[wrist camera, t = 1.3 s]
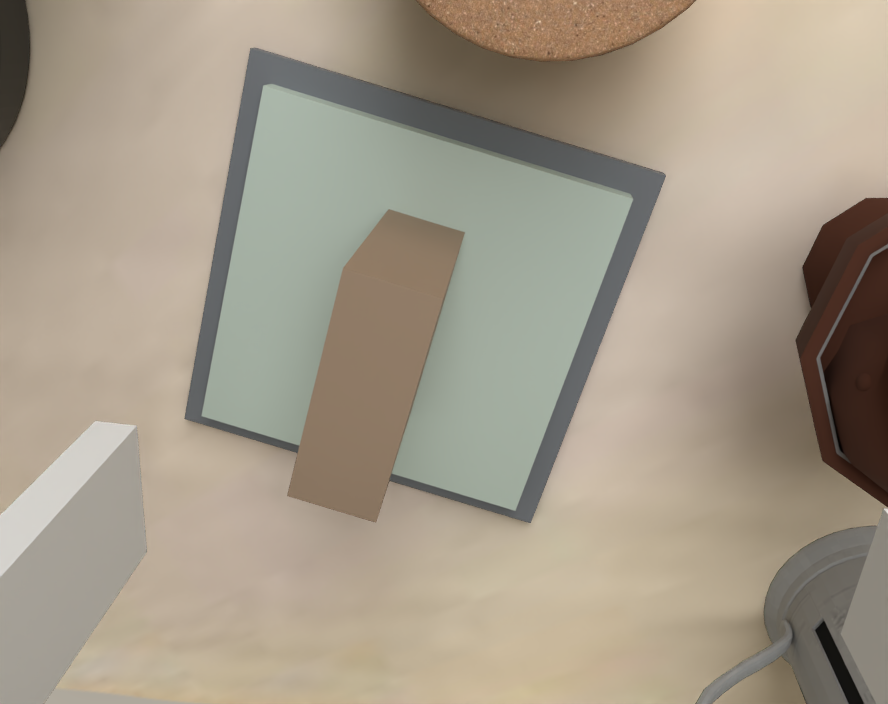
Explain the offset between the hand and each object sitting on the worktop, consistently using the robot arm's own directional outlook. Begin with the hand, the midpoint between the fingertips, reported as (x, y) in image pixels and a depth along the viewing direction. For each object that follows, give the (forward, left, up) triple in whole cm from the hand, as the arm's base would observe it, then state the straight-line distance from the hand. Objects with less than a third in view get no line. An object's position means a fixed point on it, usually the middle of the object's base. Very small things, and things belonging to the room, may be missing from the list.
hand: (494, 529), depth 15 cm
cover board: (-4, -4, -19) cm, 20 cm away
